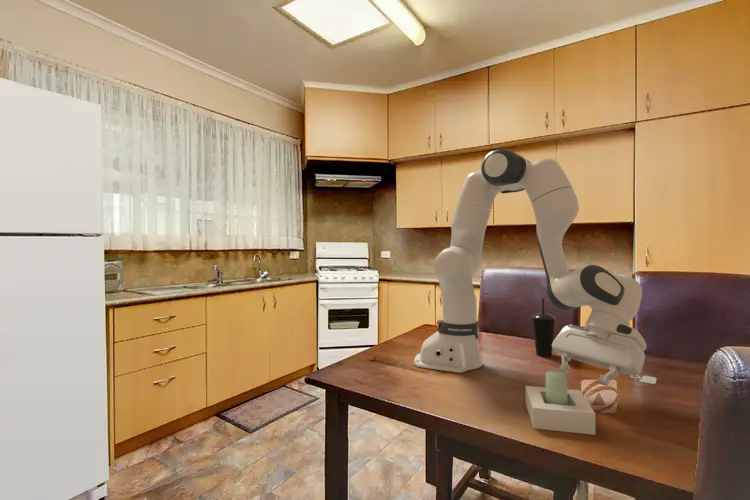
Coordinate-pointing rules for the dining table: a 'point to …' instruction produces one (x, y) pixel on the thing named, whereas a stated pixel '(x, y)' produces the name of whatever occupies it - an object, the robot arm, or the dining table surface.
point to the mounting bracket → (645, 379)
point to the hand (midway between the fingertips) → (582, 377)
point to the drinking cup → (543, 332)
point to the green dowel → (556, 388)
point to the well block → (560, 412)
